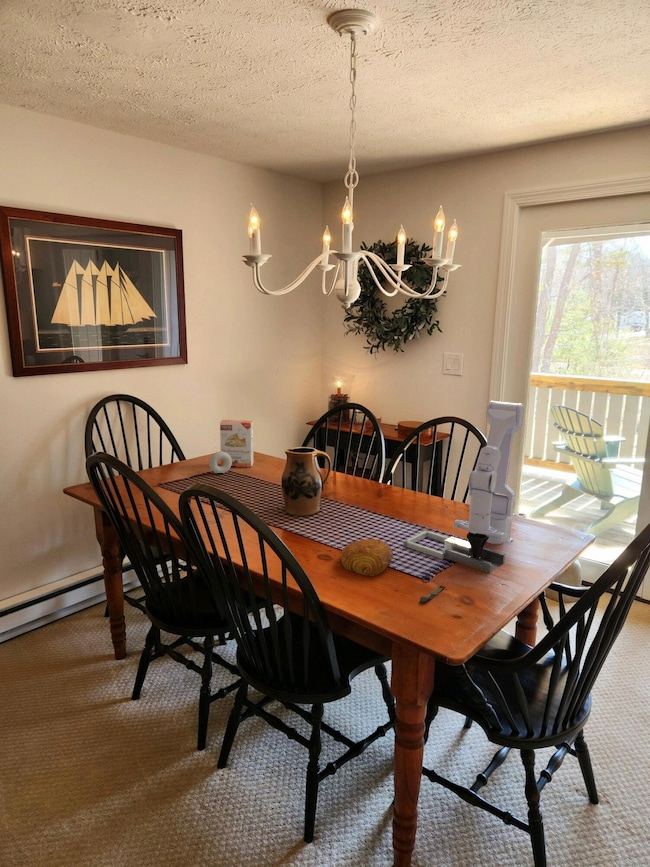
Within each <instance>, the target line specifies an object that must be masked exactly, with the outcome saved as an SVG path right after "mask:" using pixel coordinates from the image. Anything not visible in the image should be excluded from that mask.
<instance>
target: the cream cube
mask: <svg viewBox="0 0 650 867" xmlns="http://www.w3.org/2000/svg"><path fill="white" fill-rule="evenodd" d="M462 540H463V541H461V542H460V543H458V544H457V548H456V551H457V552H460V553H463V554H466V555H469V556H472V557H473V553H472V549H471V545H470V543H469V540H468V541H467V540H464V539H462Z"/></svg>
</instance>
